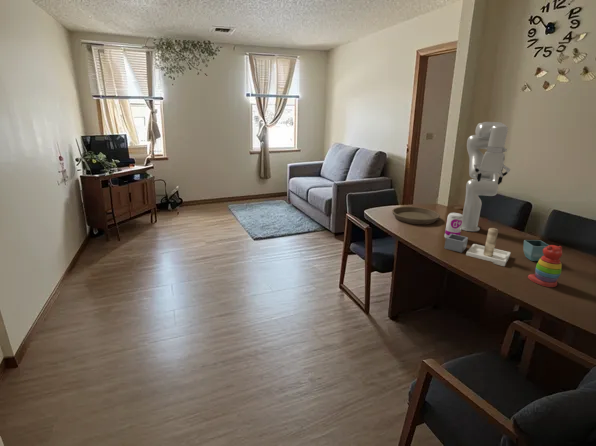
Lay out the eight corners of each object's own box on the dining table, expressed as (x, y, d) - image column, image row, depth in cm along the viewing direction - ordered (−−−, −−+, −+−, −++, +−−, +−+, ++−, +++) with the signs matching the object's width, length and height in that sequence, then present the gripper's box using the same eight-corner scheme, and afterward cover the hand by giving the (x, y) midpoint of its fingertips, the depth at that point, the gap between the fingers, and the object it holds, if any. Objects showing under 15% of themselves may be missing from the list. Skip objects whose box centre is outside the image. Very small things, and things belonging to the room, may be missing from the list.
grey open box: (449, 244, 202) (450, 233, 199) (466, 248, 196) (468, 237, 194) (444, 249, 195) (446, 237, 193) (461, 254, 190) (463, 242, 187)
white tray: (472, 247, 198) (473, 243, 197) (509, 256, 188) (510, 252, 187) (465, 256, 187) (466, 252, 186) (504, 266, 176) (505, 261, 176)
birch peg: (484, 252, 190) (489, 227, 185) (493, 254, 187) (499, 229, 183) (482, 255, 186) (487, 229, 182) (491, 257, 184) (497, 231, 179)
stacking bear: (549, 277, 166) (559, 241, 161) (563, 288, 157) (575, 250, 151) (525, 276, 167) (534, 240, 161) (538, 287, 157) (548, 249, 151)
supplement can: (460, 242, 206) (465, 217, 201) (445, 240, 207) (449, 216, 202) (457, 237, 213) (461, 212, 208) (443, 235, 215) (446, 211, 210)
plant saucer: (396, 209, 266) (397, 203, 264) (441, 215, 253) (442, 209, 252) (387, 221, 239) (387, 214, 238) (436, 229, 227) (437, 222, 225)
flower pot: (519, 255, 190) (523, 239, 187) (536, 255, 189) (540, 240, 186) (529, 262, 181) (533, 246, 178) (547, 263, 181) (551, 246, 178)
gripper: (515, 151, 183) (508, 183, 189) (478, 147, 193) (473, 178, 199) (513, 152, 178) (505, 186, 184) (475, 149, 187) (469, 181, 193)
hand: (488, 182), depth 191 cm, fingers open, 9 cm apart
